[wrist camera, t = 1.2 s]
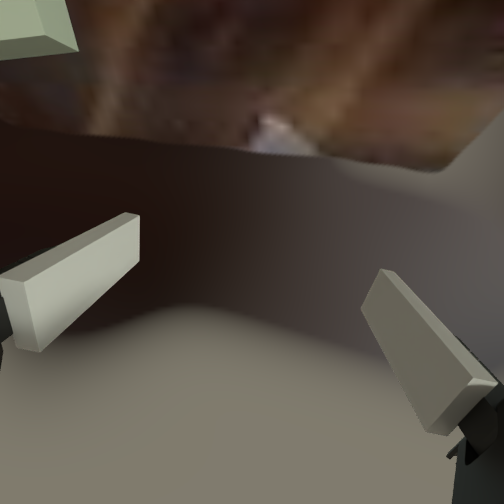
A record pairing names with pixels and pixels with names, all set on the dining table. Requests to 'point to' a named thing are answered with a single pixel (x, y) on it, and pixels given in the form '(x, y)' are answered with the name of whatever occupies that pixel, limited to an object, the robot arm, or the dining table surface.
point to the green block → (35, 29)
